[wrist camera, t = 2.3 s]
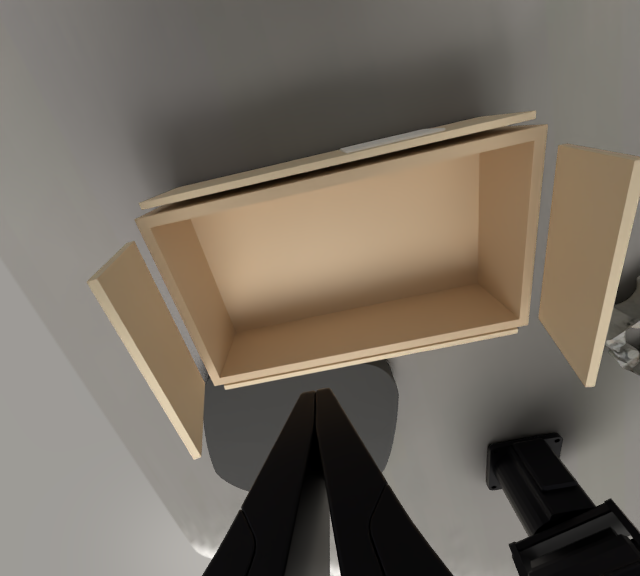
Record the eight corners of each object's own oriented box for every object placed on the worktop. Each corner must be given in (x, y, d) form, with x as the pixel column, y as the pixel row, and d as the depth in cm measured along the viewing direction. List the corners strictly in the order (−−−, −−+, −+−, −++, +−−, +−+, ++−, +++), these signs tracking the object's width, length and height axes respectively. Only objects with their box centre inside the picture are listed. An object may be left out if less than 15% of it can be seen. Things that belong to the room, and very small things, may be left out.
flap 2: (558, 145, 13) (634, 160, 9) (567, 143, 13) (648, 158, 8) (538, 318, 16) (585, 386, 12) (545, 317, 16) (594, 387, 12)
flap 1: (205, 383, 17) (201, 457, 13) (199, 385, 17) (194, 459, 13) (134, 241, 14) (97, 278, 9) (127, 242, 14) (86, 281, 9)
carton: (481, 293, 22) (527, 333, 17) (235, 343, 23) (218, 393, 18) (485, 113, 17) (549, 104, 13) (171, 186, 18) (126, 203, 14)
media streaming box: (224, 468, 30) (216, 501, 27) (204, 341, 23) (190, 368, 21) (376, 465, 30) (383, 497, 28) (397, 341, 24) (409, 367, 21)
